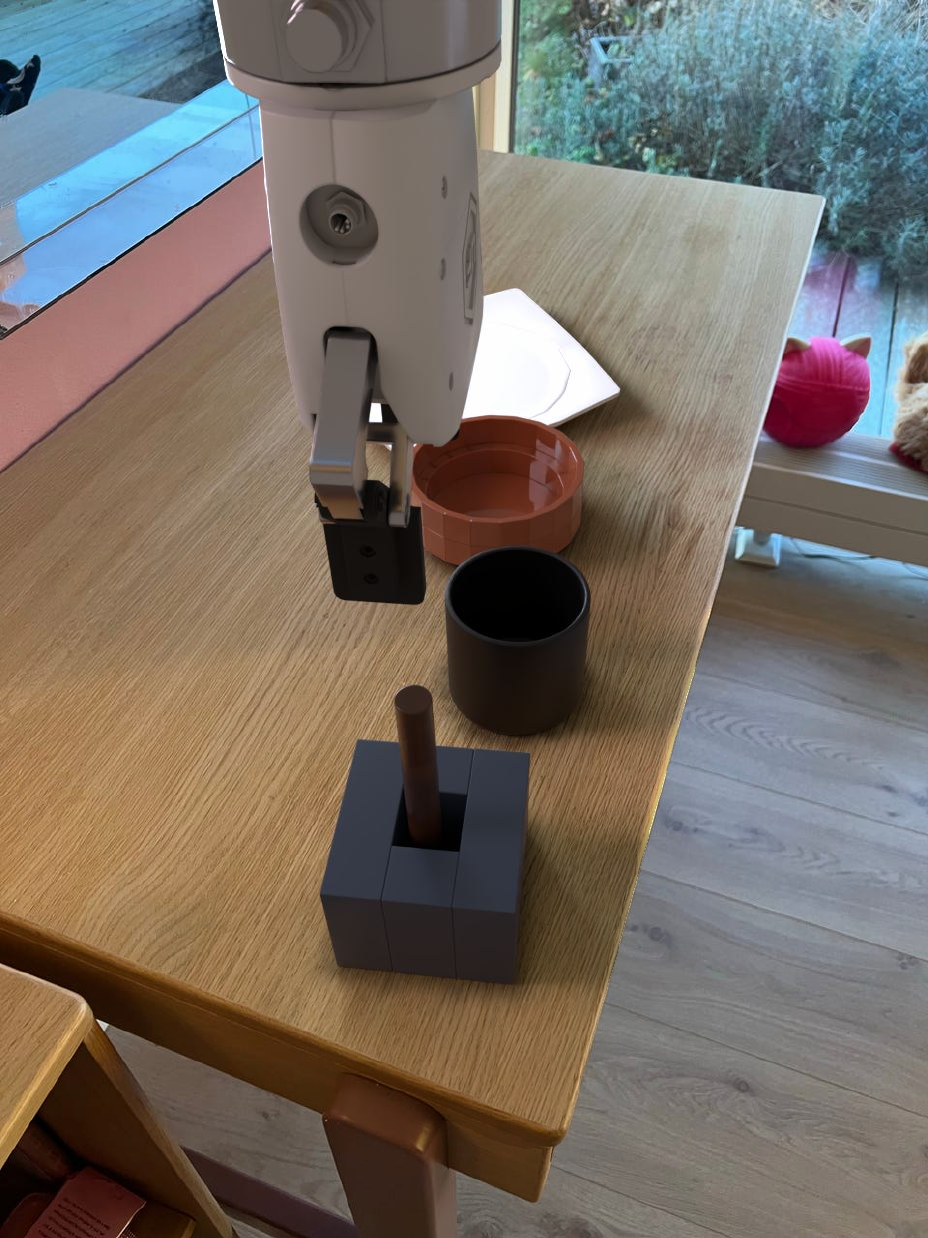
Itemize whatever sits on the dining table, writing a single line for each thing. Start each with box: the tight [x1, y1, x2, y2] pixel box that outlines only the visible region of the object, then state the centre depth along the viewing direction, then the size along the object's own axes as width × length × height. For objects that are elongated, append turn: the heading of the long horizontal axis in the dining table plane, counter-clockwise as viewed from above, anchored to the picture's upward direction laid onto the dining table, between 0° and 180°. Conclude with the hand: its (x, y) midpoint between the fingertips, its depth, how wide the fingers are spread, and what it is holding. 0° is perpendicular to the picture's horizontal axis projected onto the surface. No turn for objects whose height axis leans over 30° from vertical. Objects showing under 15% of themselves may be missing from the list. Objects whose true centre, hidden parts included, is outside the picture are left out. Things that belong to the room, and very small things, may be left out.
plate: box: [369, 287, 621, 452], centre depth 97 cm, size 24×24×3 cm
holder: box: [319, 738, 531, 985], centre depth 57 cm, size 10×10×8 cm
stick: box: [393, 684, 444, 851], centre depth 53 cm, size 2×2×18 cm
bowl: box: [411, 415, 585, 567], centre depth 82 cm, size 14×14×6 cm
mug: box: [444, 546, 592, 736], centre depth 68 cm, size 9×12×9 cm
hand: (403, 509), depth 39 cm, fingers open, 9 cm apart
